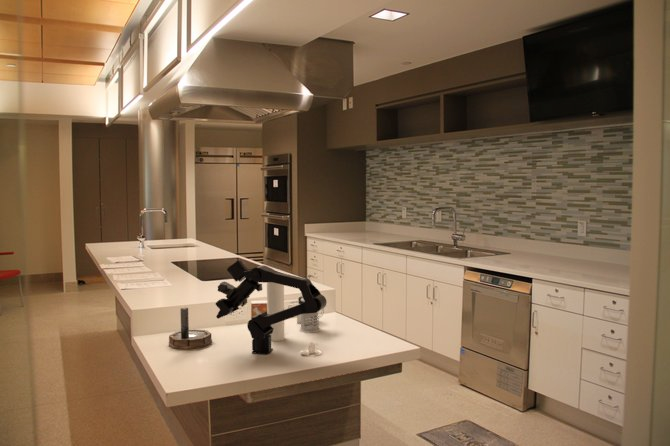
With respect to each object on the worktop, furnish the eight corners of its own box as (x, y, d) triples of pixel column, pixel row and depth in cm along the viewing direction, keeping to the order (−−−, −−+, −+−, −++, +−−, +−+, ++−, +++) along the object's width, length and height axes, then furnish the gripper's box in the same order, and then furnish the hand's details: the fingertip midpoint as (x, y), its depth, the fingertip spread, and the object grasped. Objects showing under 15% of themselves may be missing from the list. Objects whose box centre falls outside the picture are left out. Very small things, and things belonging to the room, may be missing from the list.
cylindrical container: (285, 336, 229) (285, 278, 228) (282, 340, 222) (282, 281, 221) (269, 335, 230) (268, 278, 229) (265, 340, 223) (264, 281, 222)
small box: (251, 332, 236) (250, 303, 235) (251, 329, 242) (251, 300, 241) (269, 331, 237) (269, 302, 236) (269, 328, 243) (269, 299, 242)
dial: (211, 336, 224) (210, 303, 223) (197, 345, 212) (196, 310, 211) (183, 335, 227) (183, 302, 226) (168, 343, 215) (167, 308, 214)
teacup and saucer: (301, 357, 201) (301, 347, 201) (297, 351, 209) (297, 341, 208) (324, 355, 203) (324, 345, 203) (319, 350, 211) (319, 339, 211)
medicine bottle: (312, 323, 252) (311, 298, 251) (296, 323, 252) (296, 298, 251) (312, 319, 259) (312, 295, 258) (298, 319, 259) (297, 295, 258)
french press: (295, 328, 242) (295, 273, 241) (319, 325, 247) (318, 272, 246) (303, 333, 233) (303, 276, 232) (327, 330, 238) (327, 274, 237)
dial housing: (218, 338, 226) (218, 329, 226) (200, 350, 209) (199, 340, 209) (181, 336, 230) (181, 327, 229) (160, 347, 213) (160, 338, 213)
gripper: (239, 271, 218) (215, 297, 221) (220, 279, 200) (193, 307, 203) (258, 291, 217) (233, 317, 220) (240, 301, 199) (213, 328, 202)
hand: (218, 317), depth 211 cm, fingers closed
